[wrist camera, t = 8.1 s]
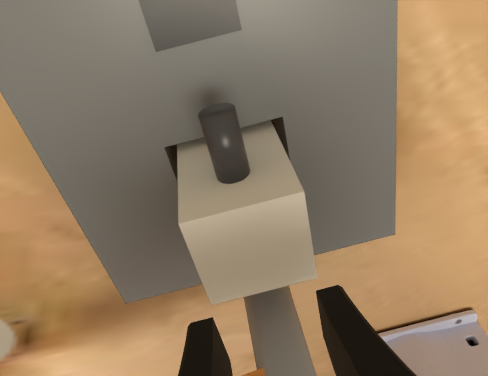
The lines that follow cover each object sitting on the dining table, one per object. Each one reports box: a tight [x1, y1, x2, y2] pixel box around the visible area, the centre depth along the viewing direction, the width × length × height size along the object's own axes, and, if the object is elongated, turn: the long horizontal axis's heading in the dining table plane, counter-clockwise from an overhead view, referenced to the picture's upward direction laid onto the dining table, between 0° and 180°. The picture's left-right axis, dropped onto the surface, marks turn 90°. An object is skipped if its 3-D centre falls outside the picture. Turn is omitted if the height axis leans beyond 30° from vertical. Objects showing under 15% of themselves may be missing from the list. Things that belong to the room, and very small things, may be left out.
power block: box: [0, 0, 397, 304], centre depth 16 cm, size 14×20×3 cm
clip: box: [243, 286, 316, 376], centre depth 20 cm, size 12×2×10 cm, turn 113°
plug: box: [177, 103, 317, 305], centre depth 16 cm, size 4×6×8 cm, turn 12°
